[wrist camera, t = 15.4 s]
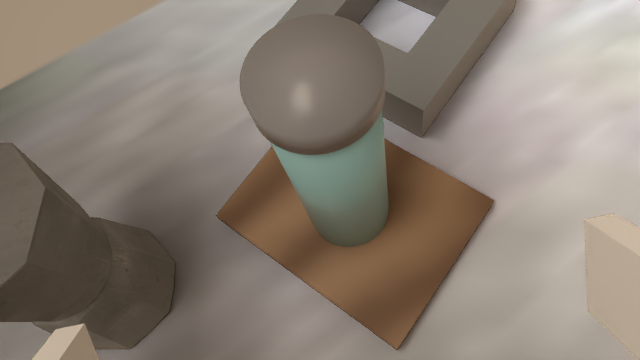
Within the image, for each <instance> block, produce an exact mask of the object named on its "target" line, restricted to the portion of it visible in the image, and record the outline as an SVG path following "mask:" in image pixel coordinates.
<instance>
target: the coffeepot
mask: <svg viewBox="0 0 640 360" xmlns="http://www.w3.org/2000/svg"><path fill="white" fill-rule="evenodd" d="M175 264H176V263H175V261H174V260H173V259H172V258H171V257H170V256H169V254H168V253H167V252H166V250H165V249H164V248H163V247H162V246H161V245H160V244H159V243H158V241H157V240H156V239H155V238H154V237H153V235H152V234H151V233H150V232H149V231H146V230H142V229H138V228H135V227H131V226H127V225H123V224H120V223H116V222H112V221H109V220H105V219H101V218H92V217H89V216H88V214H87V213H86V212H85V211H84V210H83V208H82V207H81V206H80V205H79V204H78V203H77V202H76V201H75V200H74V199H73V198H72V197H71V196H70V195H68V194H67V193H66V192H65V191H64V190H63V189H62V188H61V187H60V186H59V185H58V184H56V183H55V182H54V181H53V180H52V179H51V178H50V177H49V176H48V175H47V174H45V173H44V172H43V171H42V170H41V169H40V168H39V167H38V166H37V165H36V164H35V163H33V162H32V161H31V160H30V159H29V158H28V157H27V156H26V155H25V154H24V153H22V152H21V151H20V150H19V149H18V148H17V147H16V146H15V145H14V144H13V143H0V322H33V324H34V325H36V326H38V327H40V328H42V329H44V330H46V331H48V332H50V333H53V332H54V331H55V329H60V328H64V327H69V326H74V325H79V324H84V323H85V326H86V328H87V331H88V333H89V336H90V338H91V341H92V343H93V346H94V348H95V349H131V348H132V347H133V346H134V345H136V344H137V343H138V342H139V341H140V340H141V339H142V338H144V337H145V336H146V335H147V334H149V333H150V332H151V331H152V330H153V329H154V328H155V327H156V326H157V324H158V323H159V322H160V321H161V319H162V318H163V317H164V316H165V315H166V314H168V313H169V310H170V305H171V300H172V295H173V291H174V279H175V276H174V271H175Z"/></svg>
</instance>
